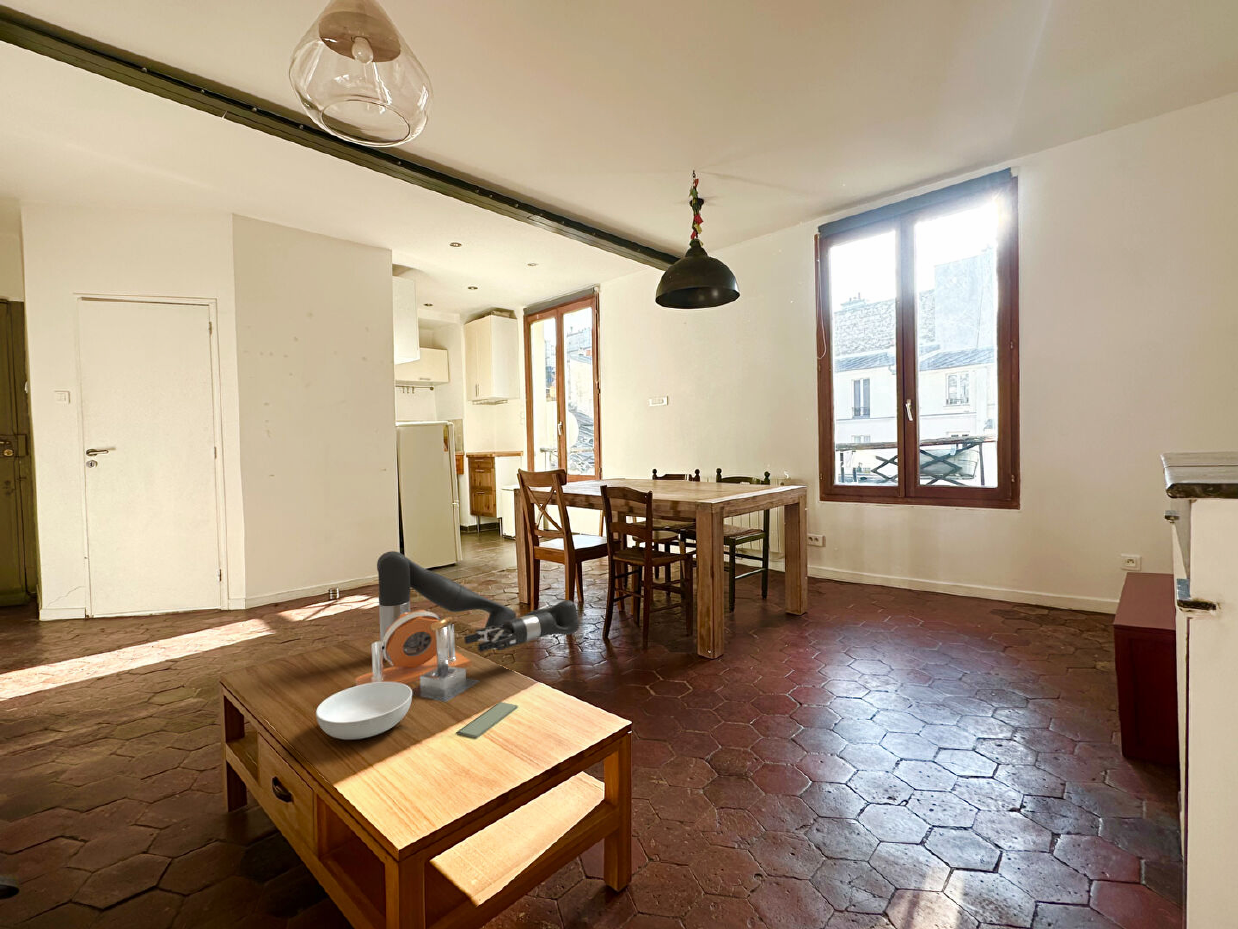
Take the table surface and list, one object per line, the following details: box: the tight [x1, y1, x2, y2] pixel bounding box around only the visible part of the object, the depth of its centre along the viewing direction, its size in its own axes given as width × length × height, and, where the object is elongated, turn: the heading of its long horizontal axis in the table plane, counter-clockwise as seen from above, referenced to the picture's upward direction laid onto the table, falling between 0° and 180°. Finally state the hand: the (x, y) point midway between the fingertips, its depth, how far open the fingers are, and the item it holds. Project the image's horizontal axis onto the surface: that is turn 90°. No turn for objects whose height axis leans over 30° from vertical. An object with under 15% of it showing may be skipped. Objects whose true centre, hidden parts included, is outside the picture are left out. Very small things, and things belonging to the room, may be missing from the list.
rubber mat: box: [455, 701, 519, 739], centre depth 139 cm, size 16×16×1 cm
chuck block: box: [411, 666, 481, 703], centre depth 154 cm, size 14×14×5 cm
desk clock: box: [355, 609, 472, 686], centre depth 164 cm, size 12×30×20 cm, turn 129°
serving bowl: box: [315, 682, 413, 741], centre depth 134 cm, size 21×21×7 cm
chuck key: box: [429, 616, 454, 678], centre depth 154 cm, size 7×4×18 cm, turn 155°
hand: (471, 644), depth 159 cm, fingers open, 8 cm apart
